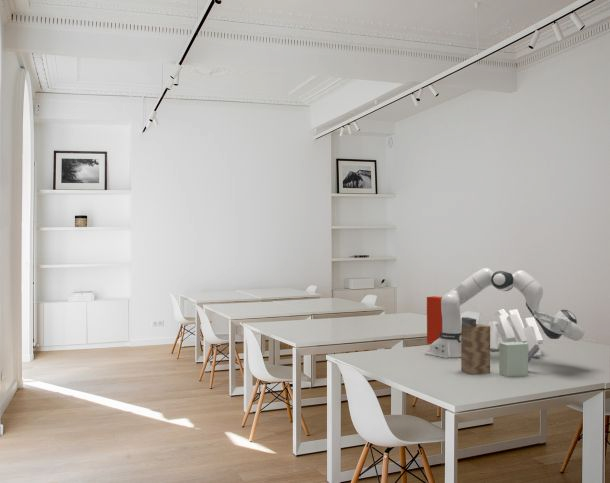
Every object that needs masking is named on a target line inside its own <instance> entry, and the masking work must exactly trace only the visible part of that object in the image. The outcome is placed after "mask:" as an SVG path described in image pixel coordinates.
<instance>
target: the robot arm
mask: <svg viewBox="0 0 610 483" xmlns="http://www.w3.org/2000/svg"><path fill="white" fill-rule="evenodd" d="M489 286H493V287H494V288H495V289H497V290H498V291H503V292H508V291H511V290H512V289H513V288H515V289H517V290H518V291H519V292H520V294H522V295H523V297H524V299H525V307H526V308H527V309H528V311H529V312H530V314H531V315H532V317H534V319H535V321H536V323H537V324H538V325H539V326H540V328H541V329H542V331H543V333H544V334H545V335H546V336H547V338H549V339H551V340H559V339H560V338H561V337H562V336H563V337H565V338H567V339H569V340H572V341H575V342H577V341H580V340H582V338H583V337H584V336H585V330H584V328H582V327H581V326H580V325H579V324H578V321H577V317H576V315H575V314H574V313H573V312H571V311H570V310H568V309H560V310H558V312H557V313H556V314H554V315H552V314H549V313H548V314H547V313H545V312H541V310H540V302H541V300H542V298H543V295H544V289H543V286H542V284H541V283H540V282H539V281H538V280H536V278H535V277H534V276H532V275H531V274H529V273H528V272H527V271H525V270H523V269H520V270H516V271H515V272H514V273H511V272H508V271H504V270H498V271H495V272H494V271H493V269H491V268H489V267H483V268H481V269H479V270H477V271H476V272H474V273H472V274H471V275H470V276H468V277H467V278H466V279H464V280H463V281H461V282H460V283H459V284H458V285H456V286H455V287H454V288H452V289H451V290H449V291H447V293H445V294H443V295H442V296H441V297H442V299H441V311H442V332H441V333H439V335H440V338H438V339H437V340H436V341H434V342H433V343H432V344H430V346H429V350H427V351H426V353H425V354H426V355H428V356H433V357H434V356H435V357H440V358H445V359H447V358H461V325H462V317H461V309H460V308H461V306H462V305H464V304H465V303H467V302H468V301H469V300H471V299H473V298H474V297H475V296H476V295H478V294H479V293H481V292H482V291H483V290H485V289H486V288H488V287H489Z"/></svg>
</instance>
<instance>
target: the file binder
mask: <svg viewBox="0 0 610 483" xmlns="http://www.w3.org/2000/svg"><path fill="white" fill-rule="evenodd" d="M442 297H443V296H437V295H432V296H426V344H428V345H431V344H432V343H433V342H434V341H436V340H437V339H438V338H440V335H439V333H441V332H442V311H441V299H442Z"/></svg>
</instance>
